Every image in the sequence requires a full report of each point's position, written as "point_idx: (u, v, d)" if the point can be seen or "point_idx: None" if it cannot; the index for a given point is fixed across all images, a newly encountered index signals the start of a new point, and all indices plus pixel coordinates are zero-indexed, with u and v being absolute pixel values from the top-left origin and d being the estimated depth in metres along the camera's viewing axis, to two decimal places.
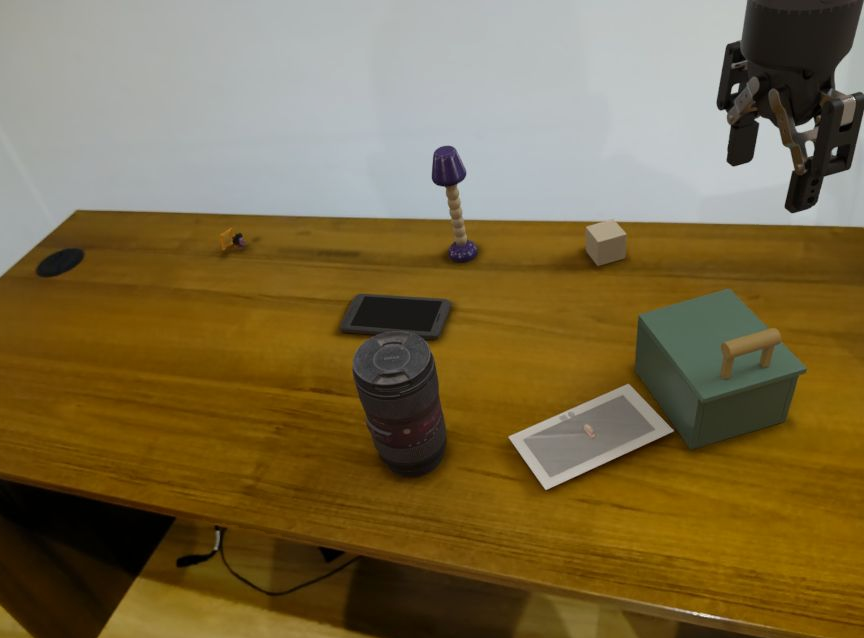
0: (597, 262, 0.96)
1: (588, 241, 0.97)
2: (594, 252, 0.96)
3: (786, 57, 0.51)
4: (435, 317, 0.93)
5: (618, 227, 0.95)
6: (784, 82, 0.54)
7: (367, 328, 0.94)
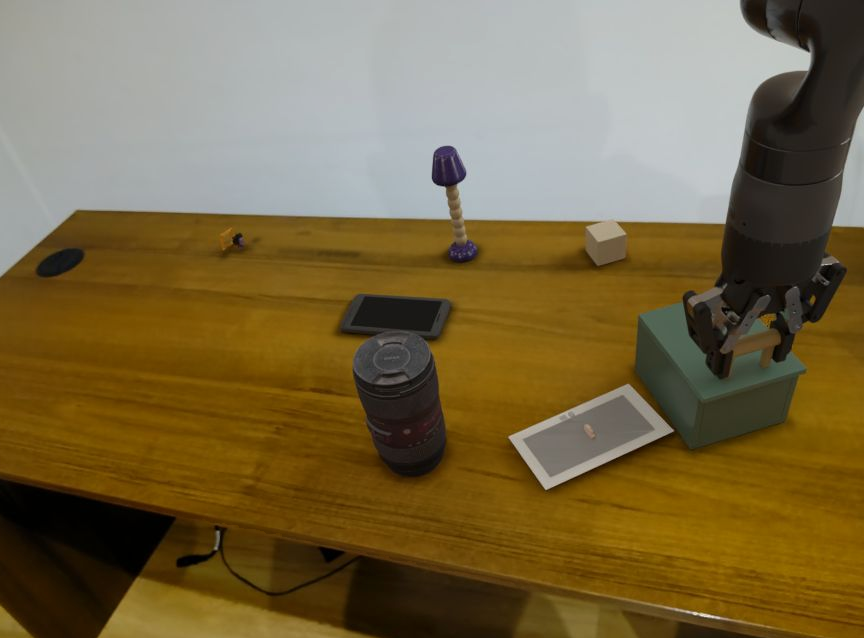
0: (597, 262, 0.96)
1: (588, 241, 0.97)
2: (594, 252, 0.96)
3: None
4: (435, 317, 0.93)
5: (618, 227, 0.95)
6: None
7: (367, 328, 0.94)
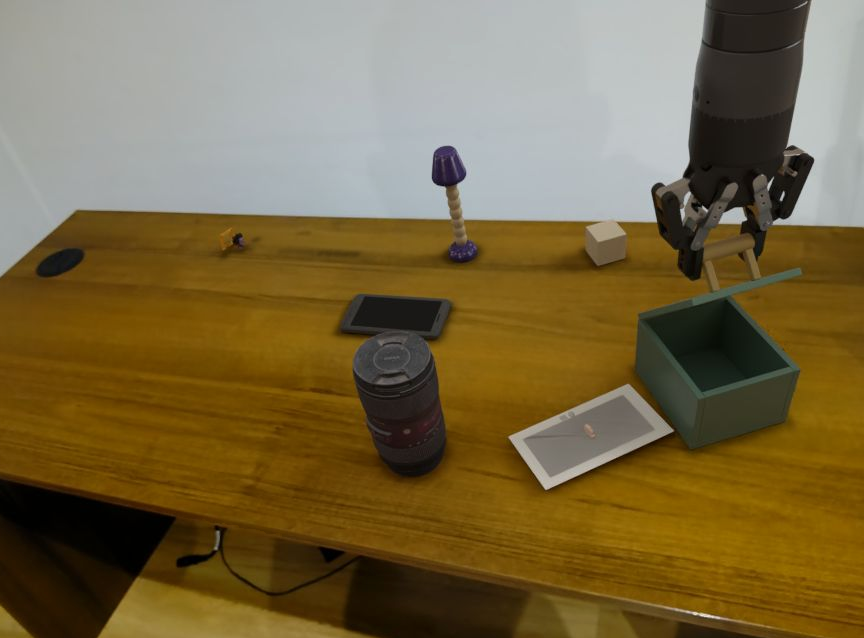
0: (597, 262, 0.96)
1: (588, 241, 0.97)
2: (594, 252, 0.96)
3: None
4: (435, 317, 0.93)
5: (618, 227, 0.95)
6: None
7: (367, 328, 0.94)
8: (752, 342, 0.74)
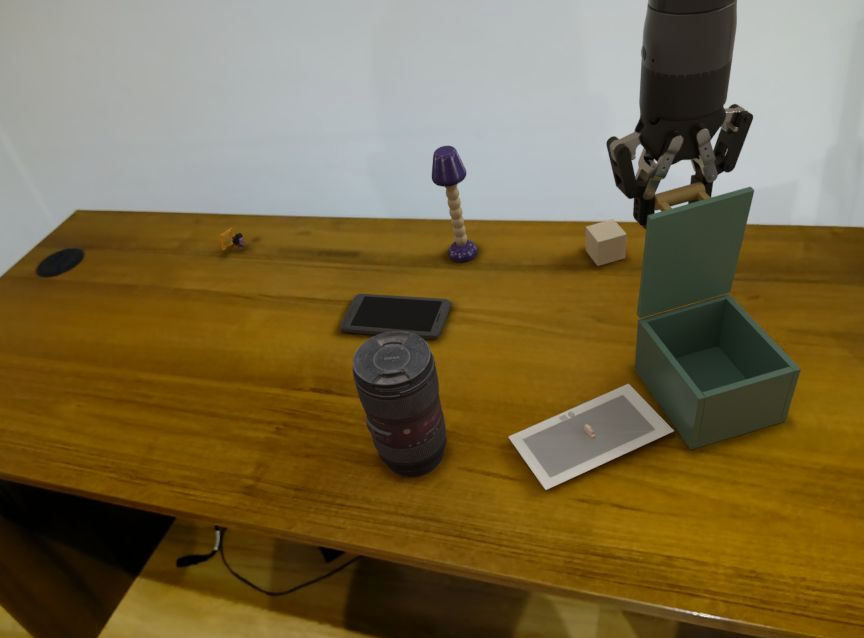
0: (597, 262, 0.96)
1: (588, 241, 0.97)
2: (594, 252, 0.96)
3: None
4: (435, 317, 0.93)
5: (618, 227, 0.95)
6: None
7: (367, 328, 0.94)
8: (752, 342, 0.74)
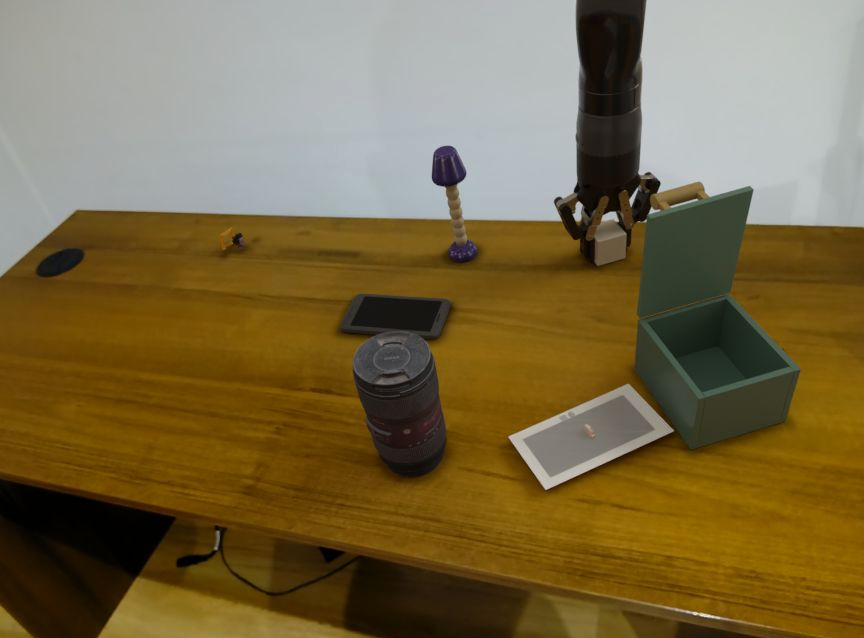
0: (597, 262, 0.96)
1: None
2: None
3: None
4: (435, 317, 0.93)
5: (618, 227, 0.95)
6: None
7: (367, 328, 0.94)
8: (752, 342, 0.74)
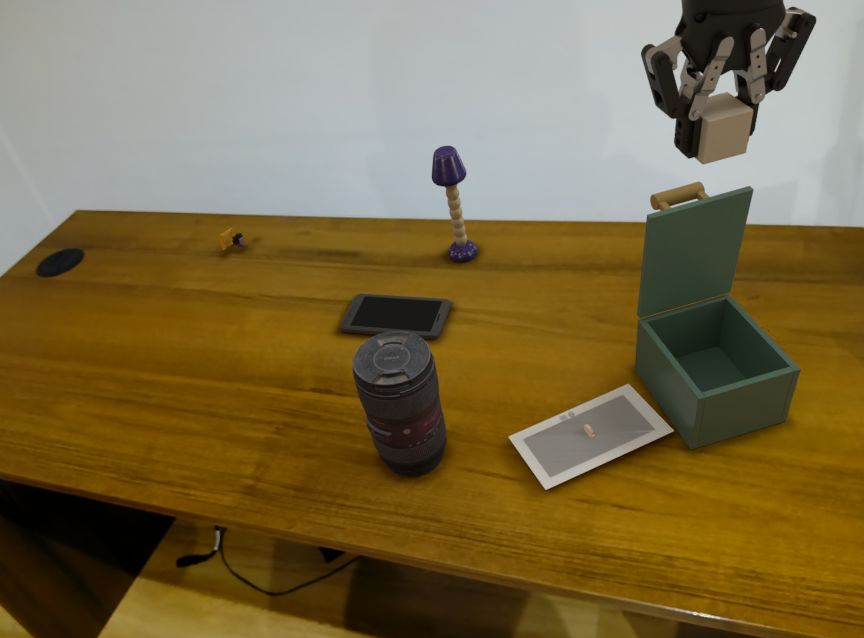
0: (703, 158, 0.61)
1: None
2: None
3: None
4: (435, 317, 0.93)
5: (738, 101, 0.61)
6: None
7: (367, 328, 0.94)
8: (752, 342, 0.74)
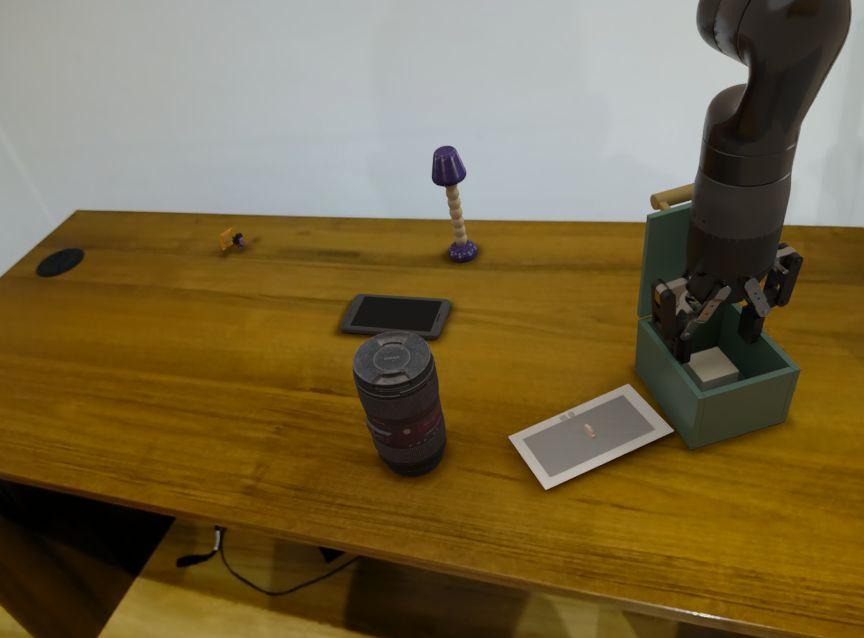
0: None
1: None
2: None
3: None
4: (435, 317, 0.93)
5: (726, 360, 0.75)
6: None
7: (367, 328, 0.94)
8: None
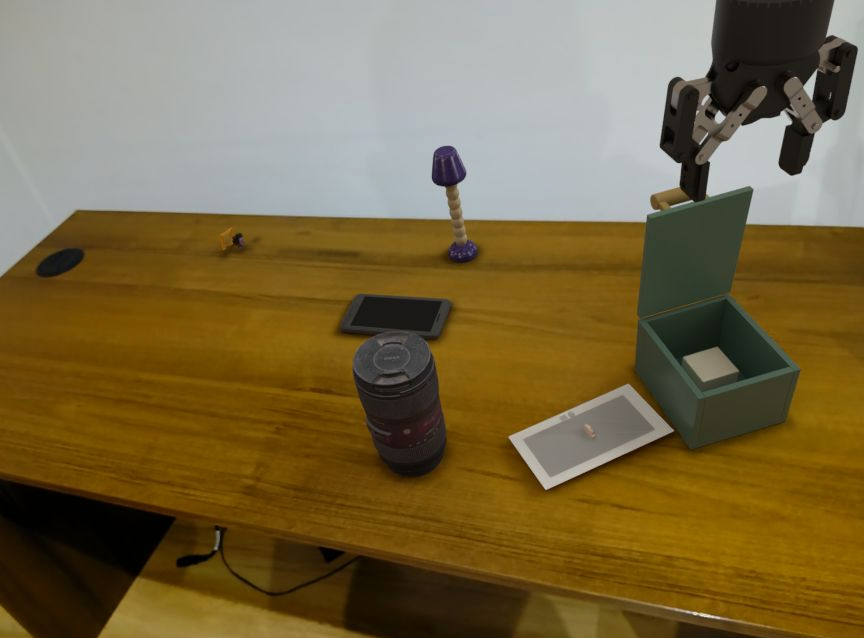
0: None
1: None
2: None
3: None
4: (435, 317, 0.93)
5: (726, 360, 0.75)
6: None
7: (367, 328, 0.94)
8: (752, 342, 0.74)
